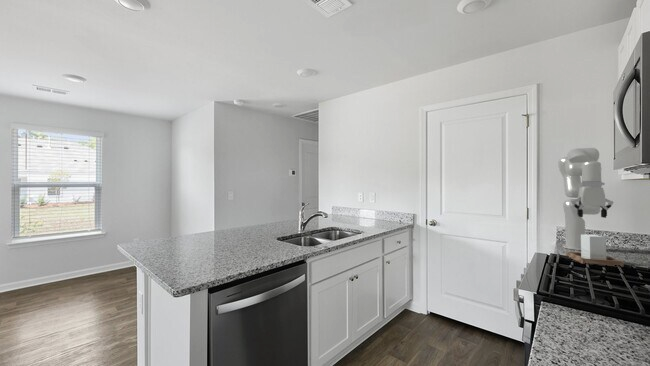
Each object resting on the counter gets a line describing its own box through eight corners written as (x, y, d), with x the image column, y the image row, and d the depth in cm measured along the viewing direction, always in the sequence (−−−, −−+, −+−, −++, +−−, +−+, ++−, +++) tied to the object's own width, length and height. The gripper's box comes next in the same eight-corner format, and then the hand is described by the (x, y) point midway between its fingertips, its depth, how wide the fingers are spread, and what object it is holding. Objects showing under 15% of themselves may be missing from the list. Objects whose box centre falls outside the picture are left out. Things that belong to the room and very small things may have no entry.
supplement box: (607, 261, 145) (606, 236, 145) (589, 260, 147) (589, 236, 147) (596, 258, 152) (596, 234, 153) (580, 257, 154) (580, 234, 154)
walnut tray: (566, 256, 161) (566, 251, 161) (602, 258, 155) (602, 253, 155) (582, 263, 144) (582, 258, 144) (623, 266, 138) (623, 261, 138)
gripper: (608, 184, 151) (608, 217, 151) (568, 185, 157) (568, 215, 157) (616, 184, 144) (617, 218, 144) (574, 184, 150) (575, 217, 150)
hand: (592, 217), depth 150 cm, fingers open, 9 cm apart
